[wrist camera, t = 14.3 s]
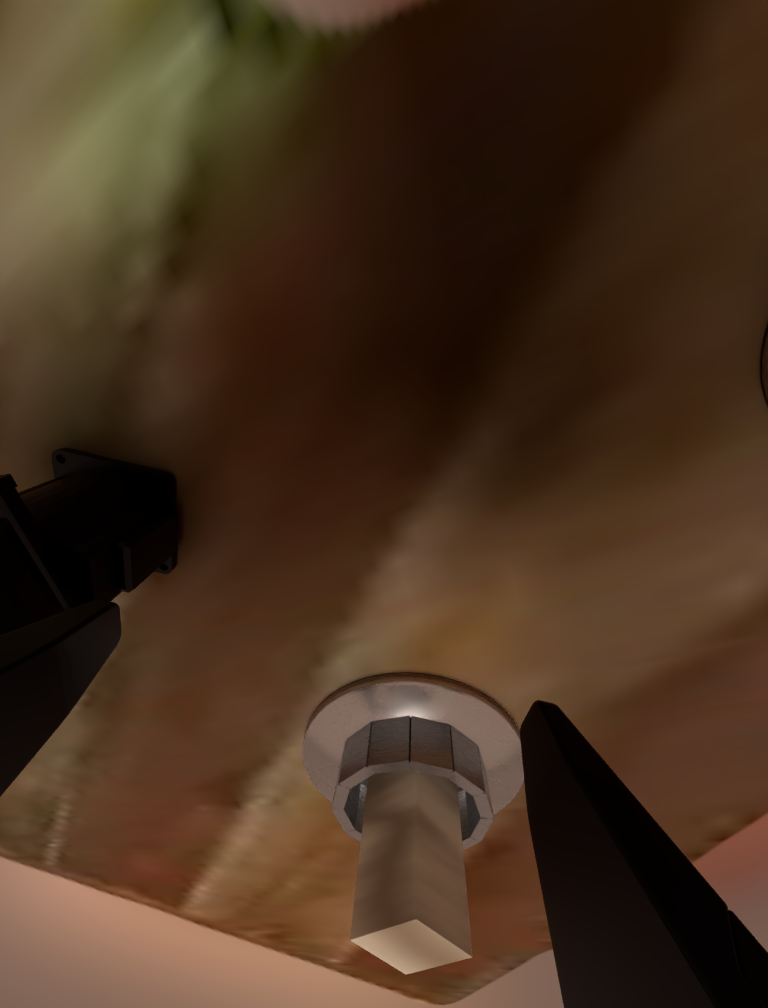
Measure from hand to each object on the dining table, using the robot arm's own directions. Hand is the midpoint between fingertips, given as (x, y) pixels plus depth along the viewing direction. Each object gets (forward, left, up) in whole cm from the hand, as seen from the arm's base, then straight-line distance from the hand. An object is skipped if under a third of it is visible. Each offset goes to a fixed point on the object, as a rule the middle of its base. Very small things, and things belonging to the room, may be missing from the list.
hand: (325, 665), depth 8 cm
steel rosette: (+7, -21, -13) cm, 26 cm away
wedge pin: (+7, -21, -12) cm, 25 cm away
